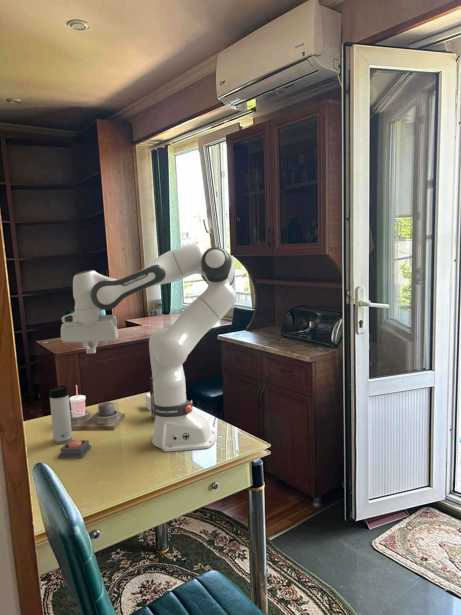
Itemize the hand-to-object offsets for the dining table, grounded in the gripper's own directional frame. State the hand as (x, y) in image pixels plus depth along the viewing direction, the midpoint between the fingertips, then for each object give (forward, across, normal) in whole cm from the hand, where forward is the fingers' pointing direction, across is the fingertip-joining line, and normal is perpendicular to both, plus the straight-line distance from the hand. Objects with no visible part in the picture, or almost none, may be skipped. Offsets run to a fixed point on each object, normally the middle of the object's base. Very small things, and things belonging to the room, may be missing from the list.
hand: (91, 353), depth 170 cm
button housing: (+30, +2, +18) cm, 35 cm away
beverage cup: (+29, +10, -9) cm, 32 cm away
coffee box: (+31, -22, -14) cm, 40 cm away
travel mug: (+30, +10, +7) cm, 33 cm away
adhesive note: (+31, -16, -25) cm, 43 cm away
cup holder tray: (+30, +5, -8) cm, 32 cm away
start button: (+29, +2, +18) cm, 34 cm away
